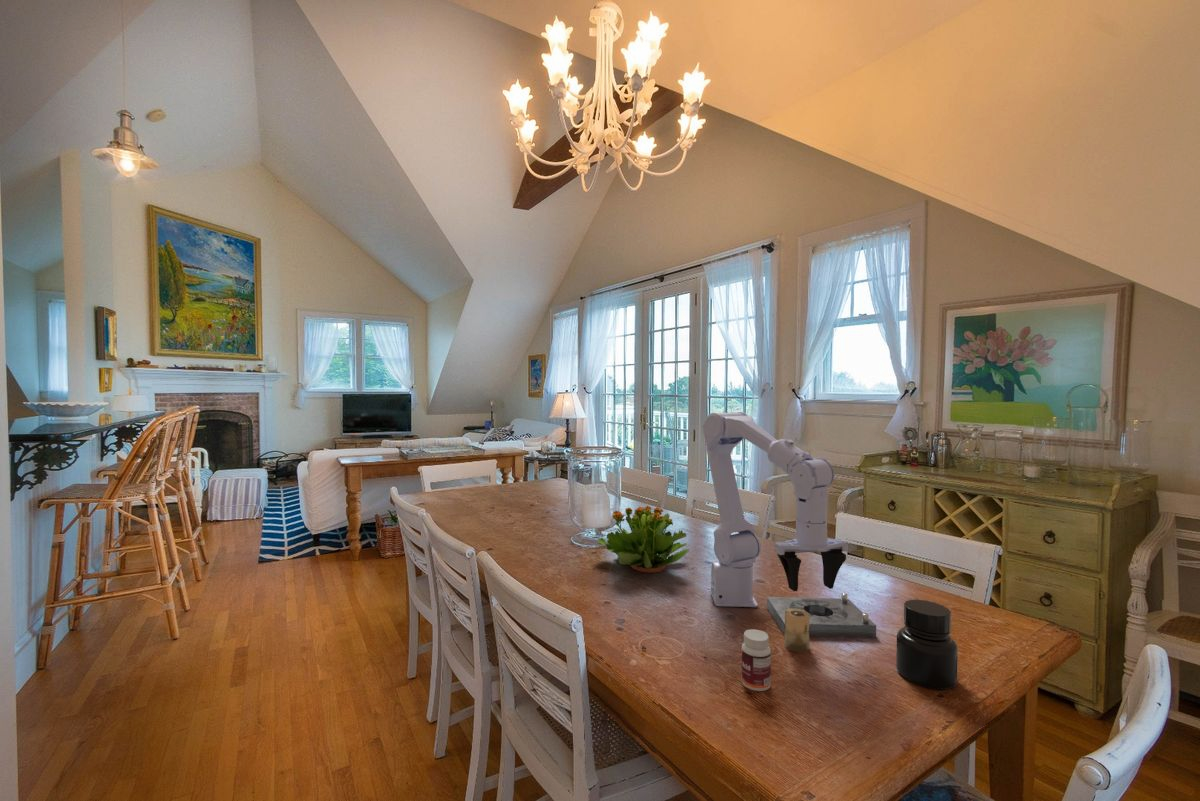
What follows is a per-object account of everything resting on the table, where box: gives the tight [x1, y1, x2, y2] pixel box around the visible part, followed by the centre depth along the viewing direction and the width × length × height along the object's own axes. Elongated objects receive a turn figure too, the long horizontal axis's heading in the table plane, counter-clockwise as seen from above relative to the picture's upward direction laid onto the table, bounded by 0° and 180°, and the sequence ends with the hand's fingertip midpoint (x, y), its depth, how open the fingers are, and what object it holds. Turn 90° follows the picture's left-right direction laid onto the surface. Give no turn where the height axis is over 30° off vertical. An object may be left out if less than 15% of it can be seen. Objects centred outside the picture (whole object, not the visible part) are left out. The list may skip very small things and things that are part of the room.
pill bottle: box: [740, 628, 772, 692], centre depth 86 cm, size 5×5×8 cm
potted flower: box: [597, 505, 690, 573], centre depth 142 cm, size 25×24×18 cm
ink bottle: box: [895, 599, 959, 690], centre depth 88 cm, size 10×9×12 cm
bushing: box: [784, 608, 810, 654], centre depth 99 cm, size 4×4×7 cm
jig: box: [766, 592, 877, 639], centre depth 109 cm, size 18×13×4 cm
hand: (810, 588), depth 102 cm, fingers open, 7 cm apart
